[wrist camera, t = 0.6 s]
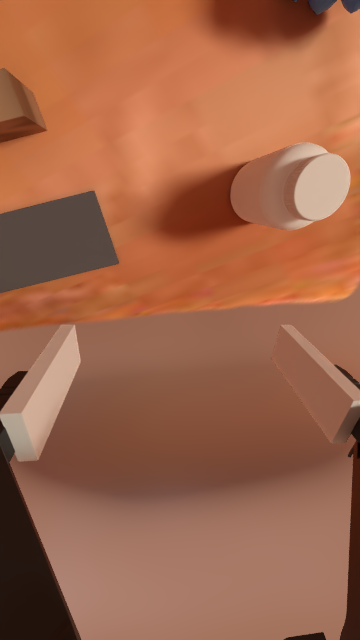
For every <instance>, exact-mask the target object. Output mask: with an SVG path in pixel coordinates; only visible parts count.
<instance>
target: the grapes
mask: <svg viewBox="0 0 360 640" xmlns="http://www.w3.org/2000/svg"><path fill="white" fill-rule="evenodd" d="M293 1H294V2H296V1H298V0H293ZM336 1H337V0H308V3H309V5H310V7H311V9H312V10H313V11H314V12H315V13H316V14H317V15H318V14H320V13H322V12H324V11H325V10H327V9H328V8H330V7H331V6H332V5H333V4H334V3H335V2H336ZM341 1H342V4H343V6H344V8H345V9H346V10H347V11H348V12H350V13H353V12H355V11H357V10H358V9H360V0H341Z"/></svg>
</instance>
